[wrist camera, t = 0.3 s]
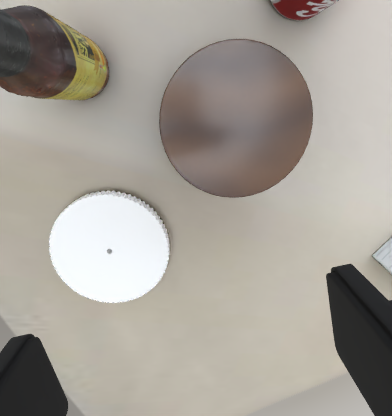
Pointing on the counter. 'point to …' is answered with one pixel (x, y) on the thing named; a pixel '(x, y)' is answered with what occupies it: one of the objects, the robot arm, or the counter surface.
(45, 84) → the sauce bottle
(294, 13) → the soda can
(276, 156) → the stand
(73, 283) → the plastic lid
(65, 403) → the robot arm
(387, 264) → the syrup box
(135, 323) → the counter surface
